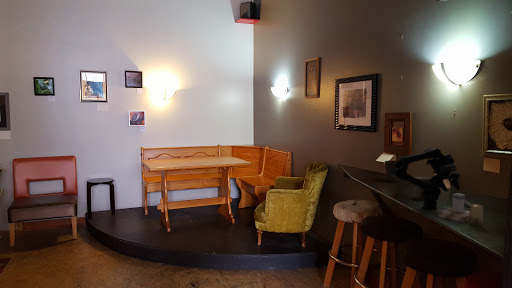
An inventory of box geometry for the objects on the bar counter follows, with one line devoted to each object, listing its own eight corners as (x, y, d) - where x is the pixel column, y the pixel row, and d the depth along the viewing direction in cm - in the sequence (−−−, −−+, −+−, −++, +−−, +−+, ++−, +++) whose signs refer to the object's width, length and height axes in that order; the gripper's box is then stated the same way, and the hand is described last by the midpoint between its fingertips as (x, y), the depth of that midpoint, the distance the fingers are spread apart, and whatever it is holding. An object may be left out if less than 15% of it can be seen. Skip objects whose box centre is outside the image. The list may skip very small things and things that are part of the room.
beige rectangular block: (466, 224, 204) (467, 205, 203) (472, 222, 208) (473, 203, 207) (478, 227, 200) (479, 207, 199) (484, 225, 203) (485, 206, 202)
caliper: (454, 202, 250) (455, 192, 250) (456, 202, 250) (456, 192, 250) (475, 210, 230) (476, 200, 229) (477, 210, 230) (478, 200, 230)
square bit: (451, 216, 217) (452, 193, 216) (457, 215, 219) (458, 193, 218) (458, 218, 214) (459, 195, 212) (463, 218, 215) (464, 194, 214)
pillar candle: (431, 200, 253) (432, 177, 252) (415, 199, 255) (416, 176, 254) (428, 197, 263) (429, 174, 261) (412, 196, 264) (413, 174, 263)
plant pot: (379, 180, 316) (380, 161, 314) (393, 179, 322) (394, 159, 320) (393, 184, 302) (394, 163, 301) (407, 182, 309) (408, 162, 307)
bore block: (438, 216, 218) (438, 211, 218) (451, 212, 226) (452, 207, 226) (463, 222, 207) (464, 217, 206) (477, 218, 215) (477, 212, 214)
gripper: (434, 160, 221) (450, 183, 212) (458, 158, 228) (474, 181, 219) (423, 172, 229) (437, 195, 220) (446, 170, 236) (461, 192, 227)
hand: (453, 190), depth 221 cm, fingers open, 9 cm apart
